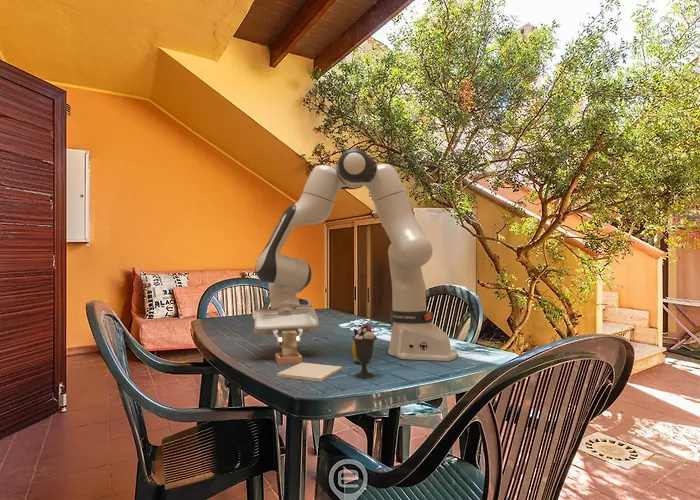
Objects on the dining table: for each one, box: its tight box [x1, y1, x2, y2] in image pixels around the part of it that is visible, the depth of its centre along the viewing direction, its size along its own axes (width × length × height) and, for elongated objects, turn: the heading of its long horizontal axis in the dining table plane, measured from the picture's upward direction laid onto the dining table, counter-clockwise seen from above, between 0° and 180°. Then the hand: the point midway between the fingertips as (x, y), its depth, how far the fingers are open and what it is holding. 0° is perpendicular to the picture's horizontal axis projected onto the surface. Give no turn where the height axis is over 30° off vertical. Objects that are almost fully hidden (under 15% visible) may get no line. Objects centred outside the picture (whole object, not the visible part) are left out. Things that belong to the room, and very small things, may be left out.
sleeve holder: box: [274, 351, 303, 366], centre depth 125 cm, size 7×7×2 cm
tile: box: [276, 362, 343, 383], centre depth 112 cm, size 13×13×1 cm
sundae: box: [351, 318, 378, 379], centre depth 109 cm, size 7×7×15 cm
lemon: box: [351, 341, 362, 364], centre depth 124 cm, size 6×6×8 cm
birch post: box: [281, 330, 298, 357], centre depth 126 cm, size 4×4×8 cm
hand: (289, 343), depth 126 cm, fingers closed on birch post, 4 cm apart
